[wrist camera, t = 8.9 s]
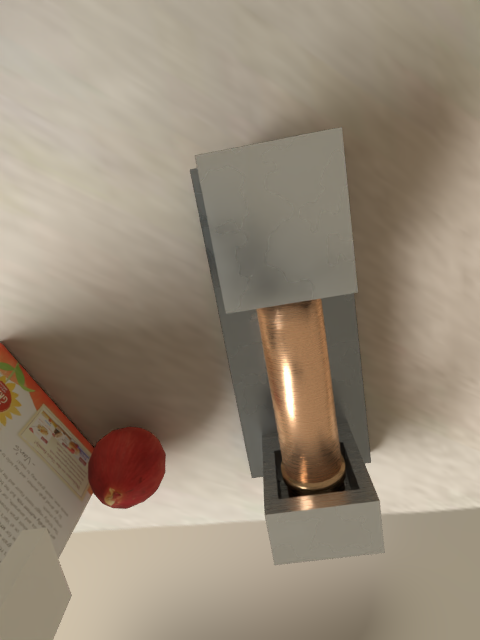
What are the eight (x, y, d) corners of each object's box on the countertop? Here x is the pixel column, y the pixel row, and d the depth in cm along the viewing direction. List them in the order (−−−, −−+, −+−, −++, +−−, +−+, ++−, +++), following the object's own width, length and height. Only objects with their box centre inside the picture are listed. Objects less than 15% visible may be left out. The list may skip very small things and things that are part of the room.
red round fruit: (172, 470, 37) (150, 543, 29) (107, 464, 37) (68, 535, 29) (174, 411, 35) (153, 473, 27) (106, 405, 35) (66, 465, 27)
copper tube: (285, 486, 32) (290, 531, 28) (245, 256, 27) (244, 269, 23) (342, 479, 32) (356, 523, 28) (313, 244, 27) (324, 255, 22)
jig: (251, 469, 37) (251, 567, 27) (192, 170, 29) (163, 161, 20) (367, 453, 36) (408, 549, 26) (335, 143, 29) (376, 119, 19)
